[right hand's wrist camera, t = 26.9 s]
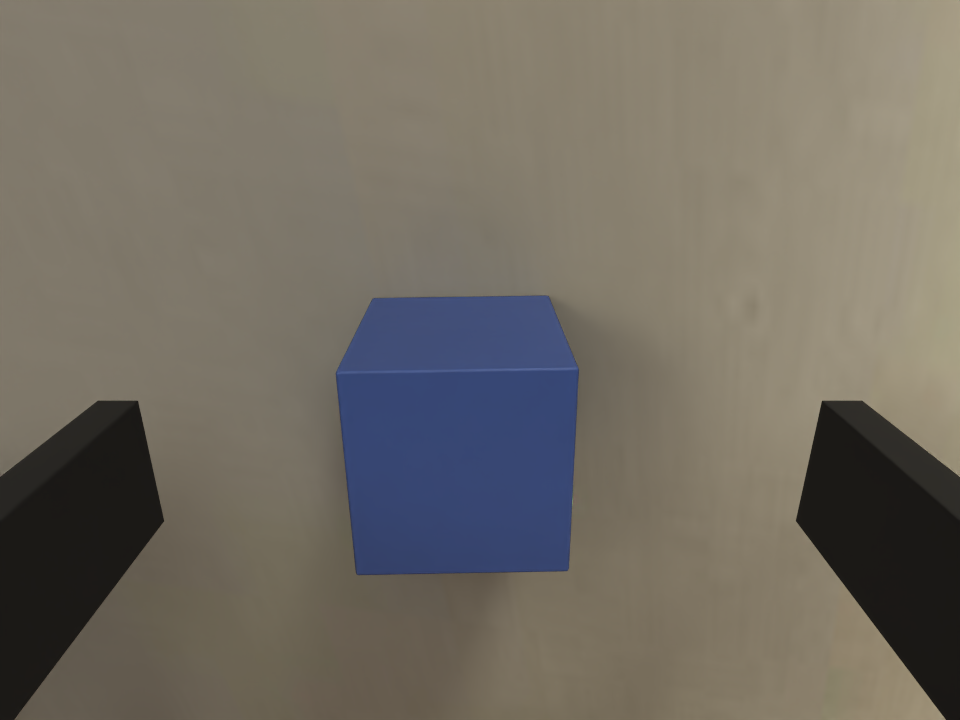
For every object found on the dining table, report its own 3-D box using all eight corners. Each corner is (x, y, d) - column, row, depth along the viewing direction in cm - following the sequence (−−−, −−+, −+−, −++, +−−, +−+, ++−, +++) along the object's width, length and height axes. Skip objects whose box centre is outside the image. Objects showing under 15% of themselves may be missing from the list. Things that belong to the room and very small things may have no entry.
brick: (544, 455, 17) (569, 572, 13) (384, 458, 17) (355, 576, 13) (549, 295, 16) (579, 367, 11) (372, 297, 16) (334, 371, 11)
